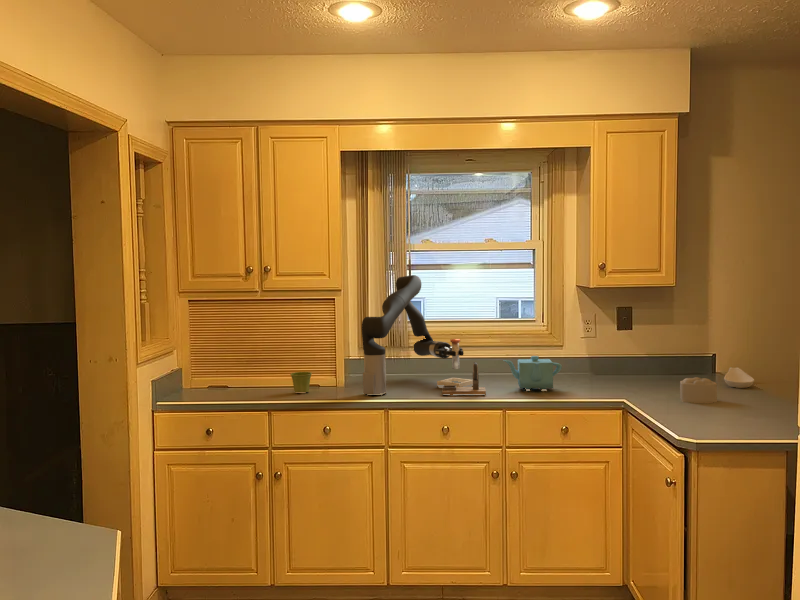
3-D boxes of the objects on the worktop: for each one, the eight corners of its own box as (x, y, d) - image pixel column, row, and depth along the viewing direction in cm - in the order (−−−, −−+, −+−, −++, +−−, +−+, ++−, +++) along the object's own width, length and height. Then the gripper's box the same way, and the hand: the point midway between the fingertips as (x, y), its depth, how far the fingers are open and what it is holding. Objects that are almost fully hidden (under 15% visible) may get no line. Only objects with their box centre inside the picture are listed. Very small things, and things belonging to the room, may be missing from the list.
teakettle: (565, 389, 308) (565, 355, 308) (537, 395, 296) (537, 359, 296) (531, 385, 323) (530, 352, 322) (503, 390, 311) (502, 356, 310)
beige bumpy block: (679, 397, 284) (679, 376, 284) (715, 399, 280) (715, 377, 280) (681, 402, 274) (681, 380, 274) (718, 403, 270) (718, 381, 270)
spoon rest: (757, 390, 299) (757, 373, 299) (726, 389, 302) (726, 372, 302) (745, 381, 322) (745, 365, 322) (717, 381, 325) (717, 365, 325)
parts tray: (459, 390, 313) (459, 383, 312) (437, 387, 320) (437, 381, 320) (474, 386, 322) (474, 379, 322) (453, 384, 329) (452, 377, 329)
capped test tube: (457, 369, 318) (456, 340, 317) (449, 368, 321) (448, 339, 320) (462, 368, 321) (462, 339, 320) (454, 367, 324) (454, 338, 323)
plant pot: (314, 393, 312) (314, 374, 311) (293, 395, 308) (293, 375, 308) (309, 390, 320) (309, 371, 320) (288, 392, 317) (288, 372, 316)
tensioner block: (485, 395, 297) (485, 363, 297) (442, 396, 299) (441, 364, 298) (484, 391, 307) (484, 360, 307) (442, 392, 309) (442, 361, 308)
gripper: (426, 342, 330) (444, 346, 315) (453, 340, 336) (472, 343, 321) (427, 358, 331) (445, 363, 315) (453, 356, 337) (472, 360, 321)
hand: (458, 353), depth 318 cm, fingers closed on capped test tube, 3 cm apart
